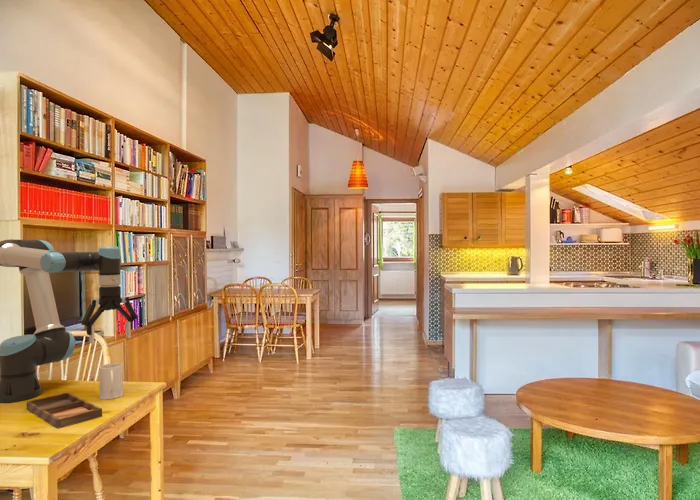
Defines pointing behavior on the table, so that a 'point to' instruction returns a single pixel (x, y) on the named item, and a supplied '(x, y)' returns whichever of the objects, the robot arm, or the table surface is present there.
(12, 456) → the table surface
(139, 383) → the table surface
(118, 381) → the mug
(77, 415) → the rack
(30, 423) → the table surface
